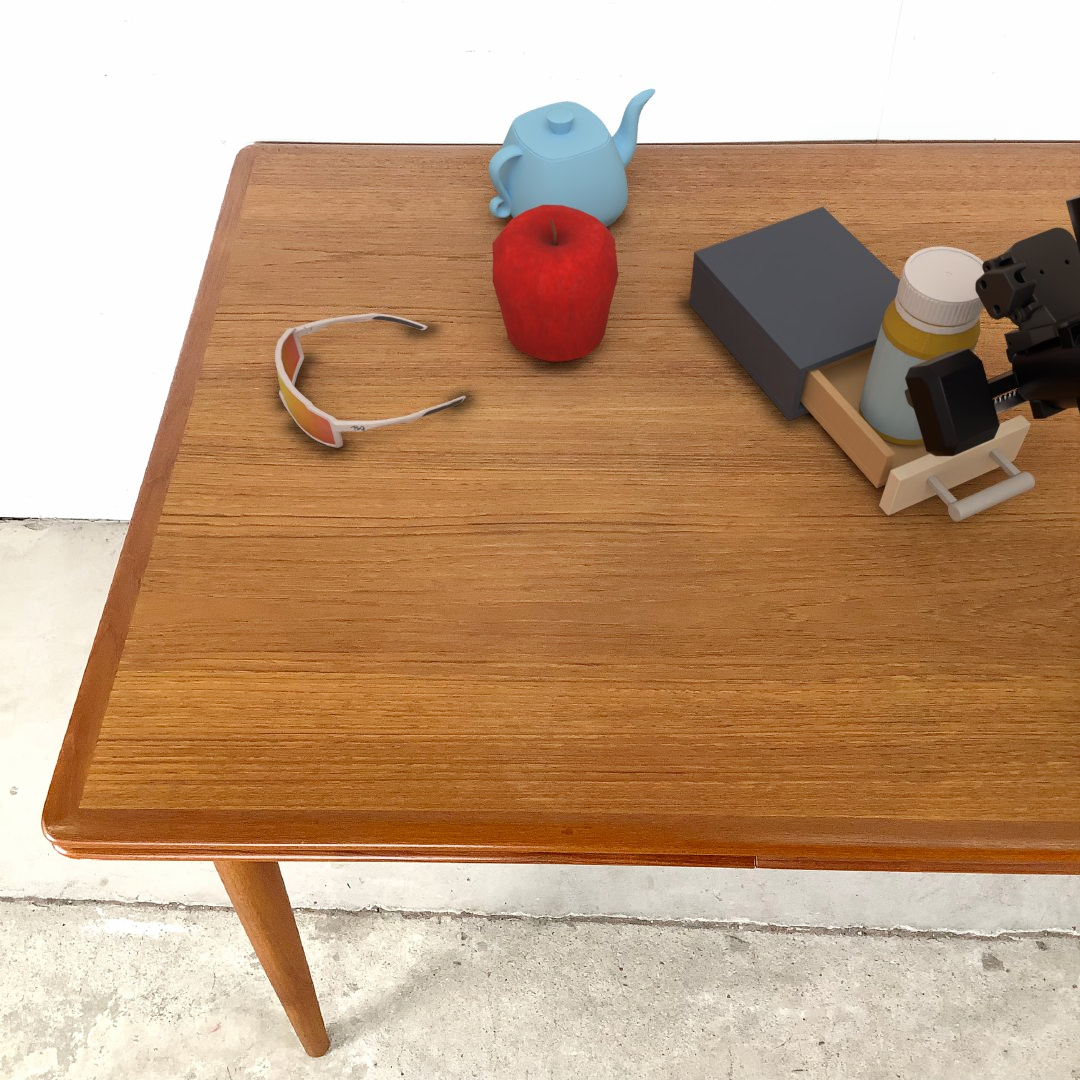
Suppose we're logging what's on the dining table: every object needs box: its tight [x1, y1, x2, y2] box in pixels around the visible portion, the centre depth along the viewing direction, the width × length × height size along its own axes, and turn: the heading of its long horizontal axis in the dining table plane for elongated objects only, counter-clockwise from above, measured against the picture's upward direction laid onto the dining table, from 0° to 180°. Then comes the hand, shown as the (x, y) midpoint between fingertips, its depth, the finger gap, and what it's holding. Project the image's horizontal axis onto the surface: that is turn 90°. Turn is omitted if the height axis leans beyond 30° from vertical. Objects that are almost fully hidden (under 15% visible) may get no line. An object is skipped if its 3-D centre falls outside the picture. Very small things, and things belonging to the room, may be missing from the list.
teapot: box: [488, 88, 656, 228], centre depth 109 cm, size 13×11×18 cm
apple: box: [491, 205, 619, 363], centre depth 96 cm, size 11×10×14 cm
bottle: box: [859, 246, 985, 446], centre depth 86 cm, size 7×7×15 cm
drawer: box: [800, 346, 1036, 523], centre depth 90 cm, size 20×12×4 cm, turn 26°
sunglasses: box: [274, 312, 467, 449], centre depth 98 cm, size 14×15×5 cm
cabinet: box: [688, 206, 900, 422], centre depth 99 cm, size 17×14×6 cm
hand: (958, 375), depth 83 cm, fingers open, 9 cm apart
